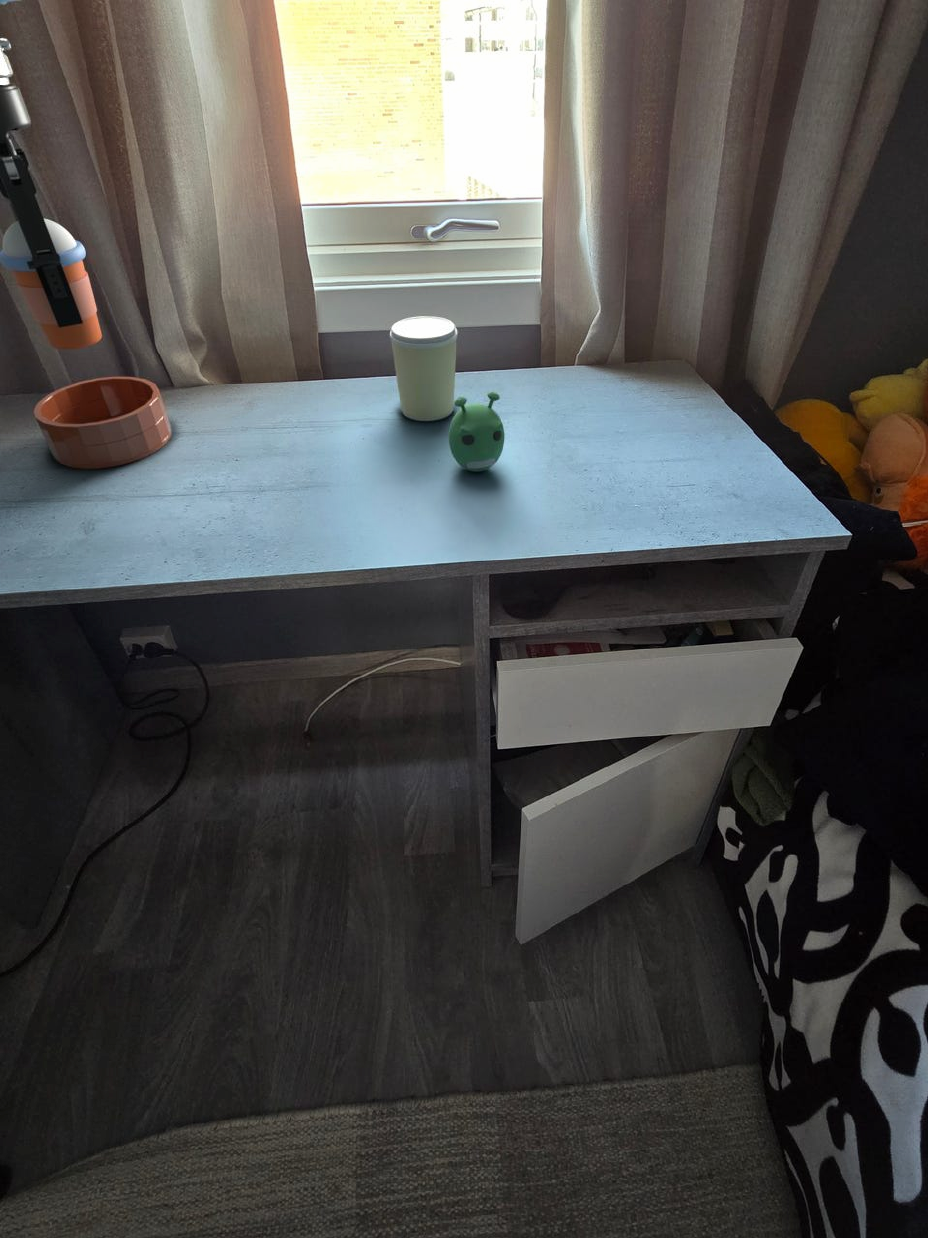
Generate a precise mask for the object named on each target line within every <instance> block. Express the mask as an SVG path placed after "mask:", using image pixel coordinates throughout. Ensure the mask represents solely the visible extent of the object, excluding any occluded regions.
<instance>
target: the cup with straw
mask: <svg viewBox="0 0 928 1238" xmlns="http://www.w3.org/2000/svg"><path fill="white" fill-rule="evenodd" d="M44 221H45V223H46V226H47V228H48V231H49V234H50V236H51V239H52V241H53V244H54V247H55V249H56V252H57V253H58V254H59V256H60V263H61V265H62V267H63V270H64V273H65V275H66V278H67V281H68V283H69V286H70V289H71V291H72V294H73V297H74V300H75V302H76V305H77V308H78V310H79V313H80V316H81V318H82V321H83V323H82V324H77V325H71V326H66V327H60V328H59V326H58V324H57V322H56V319H55V317H54V314H53V312H52V309H51V307H50V304H49V302H48V299H47V297H46V294H45V291H44V289H43V286H42V284H41V281H40V279H39V276H38V274H37V271H36V269H29V267H28V264H27V262H29V261H32V255H31V252H30V250H29V247H28V245H27V242H26V240H25V237H24V235H23V233H22V230H21V228H20V225H19V223H18V221H16V220H15V221H14V222H13V223H12V224H10V226H9V227H8V228H7V229H6V230H5V232H4V235H3V238H2V249H1V250H0V263H1V265H2V266H3V267H4V268H5V269H7V270H10V271H11V273H12V274H13V277H14V279H15V281H16V282H15V284H16V286H17V288H18V290H19V292H20V294H21V296H22V297H23V299H24V302H25V303H26V305H27V307H28V309H29V311H30V313H31V315H32V317H33V319H34V321H36V322H37V323H38V325H39V327H40V328H41V330H42V332H43V335H44V336H45V338H46V340H47V342H48V344H49V346H50V347H52V348H54V349H57V350H77V349H83V348H86V347H90V346H93V345H94V344H97V343H98V342H100V341H101V340H102V337H103V334H102V330H101V326H100V322H99V318H98V315H97V312H98V308H97V305H96V300H95V297H94V293H93V292H94V291H93V288H92V285H91V282H90V278H89V274H88V272H87V271H86V269H85V265H84V262H83V260H84V259H85V258H86V256H87V252H86V249H85V246H84V245H83V244H82V242H81V241H78V240H76V239H75V238H74V237H73V236H72V234H71V233H70V232H69V231H68V230H67V229H66V228H65V227H63V226H62V225H61V224H59V223H57V222H55V221H53V220H50V219H47V218H44ZM46 251H49V250H41V251H37V253H38V252H46Z"/></svg>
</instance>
